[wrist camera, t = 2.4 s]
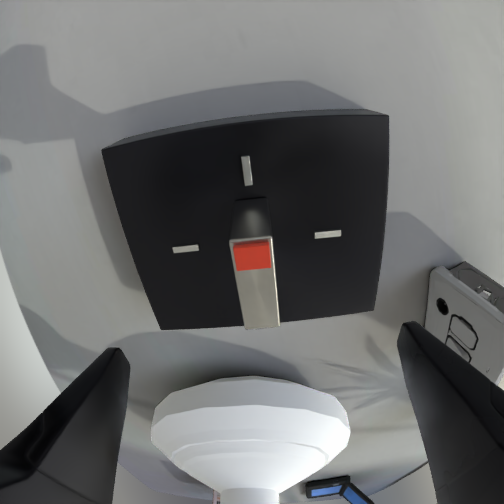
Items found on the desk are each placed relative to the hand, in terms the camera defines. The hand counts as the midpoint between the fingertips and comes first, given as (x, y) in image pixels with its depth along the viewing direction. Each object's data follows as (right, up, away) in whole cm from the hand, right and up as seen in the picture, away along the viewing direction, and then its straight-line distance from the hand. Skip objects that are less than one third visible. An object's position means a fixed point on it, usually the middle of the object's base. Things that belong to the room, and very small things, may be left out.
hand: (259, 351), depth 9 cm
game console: (+19, -49, +42) cm, 67 cm away
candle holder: (0, -14, +21) cm, 25 cm away
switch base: (0, +5, +9) cm, 11 cm away
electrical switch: (+17, -1, +13) cm, 21 cm away
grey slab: (0, +4, +7) cm, 8 cm away
